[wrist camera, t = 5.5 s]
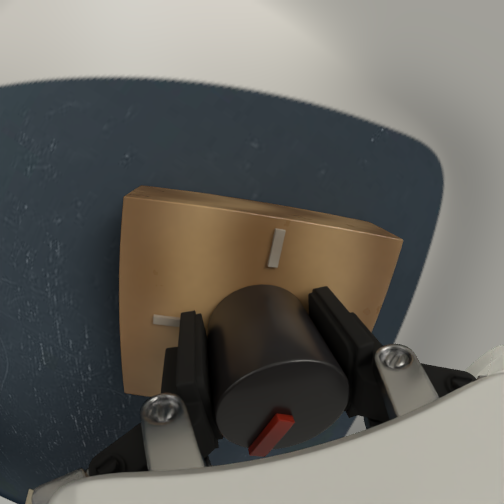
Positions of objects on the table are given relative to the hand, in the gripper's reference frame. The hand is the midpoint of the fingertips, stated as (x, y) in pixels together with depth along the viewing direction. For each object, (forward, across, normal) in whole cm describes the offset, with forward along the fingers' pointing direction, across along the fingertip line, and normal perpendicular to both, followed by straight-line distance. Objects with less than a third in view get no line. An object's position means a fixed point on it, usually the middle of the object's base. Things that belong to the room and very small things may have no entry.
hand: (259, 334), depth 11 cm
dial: (0, 0, 0) cm, 0 cm away
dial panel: (+4, 0, 0) cm, 4 cm away
